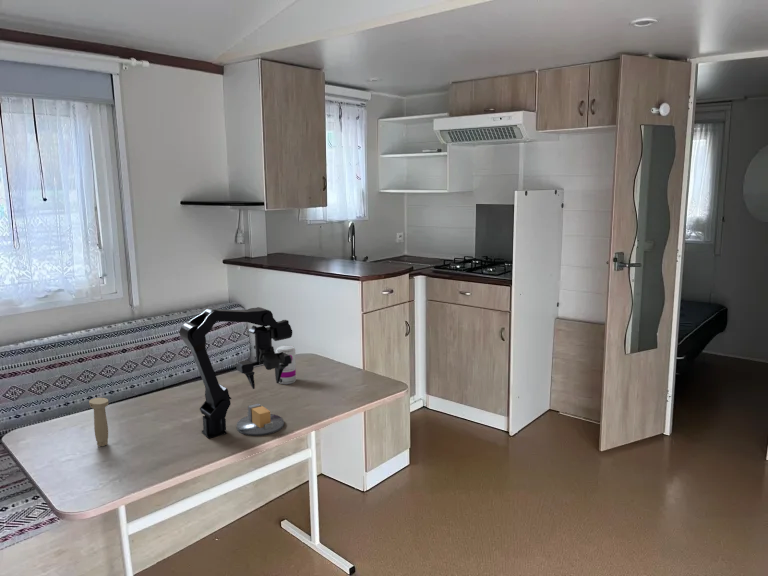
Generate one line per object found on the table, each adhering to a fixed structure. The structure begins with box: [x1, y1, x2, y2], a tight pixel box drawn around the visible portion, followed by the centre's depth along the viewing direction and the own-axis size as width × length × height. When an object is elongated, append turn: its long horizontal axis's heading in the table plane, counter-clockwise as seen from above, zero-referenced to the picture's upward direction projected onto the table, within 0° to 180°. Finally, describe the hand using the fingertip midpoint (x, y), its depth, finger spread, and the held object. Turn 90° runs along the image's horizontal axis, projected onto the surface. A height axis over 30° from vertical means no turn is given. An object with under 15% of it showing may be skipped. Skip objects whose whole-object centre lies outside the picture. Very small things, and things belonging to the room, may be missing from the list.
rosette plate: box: [236, 413, 285, 437], centre depth 205 cm, size 16×16×3 cm
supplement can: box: [275, 344, 297, 385], centre depth 248 cm, size 8×8×15 cm
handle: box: [88, 397, 110, 447], centre depth 189 cm, size 5×6×15 cm
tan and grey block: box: [247, 403, 271, 428], centre depth 205 cm, size 4×9×5 cm, turn 38°
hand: (265, 385), depth 210 cm, fingers open, 9 cm apart
